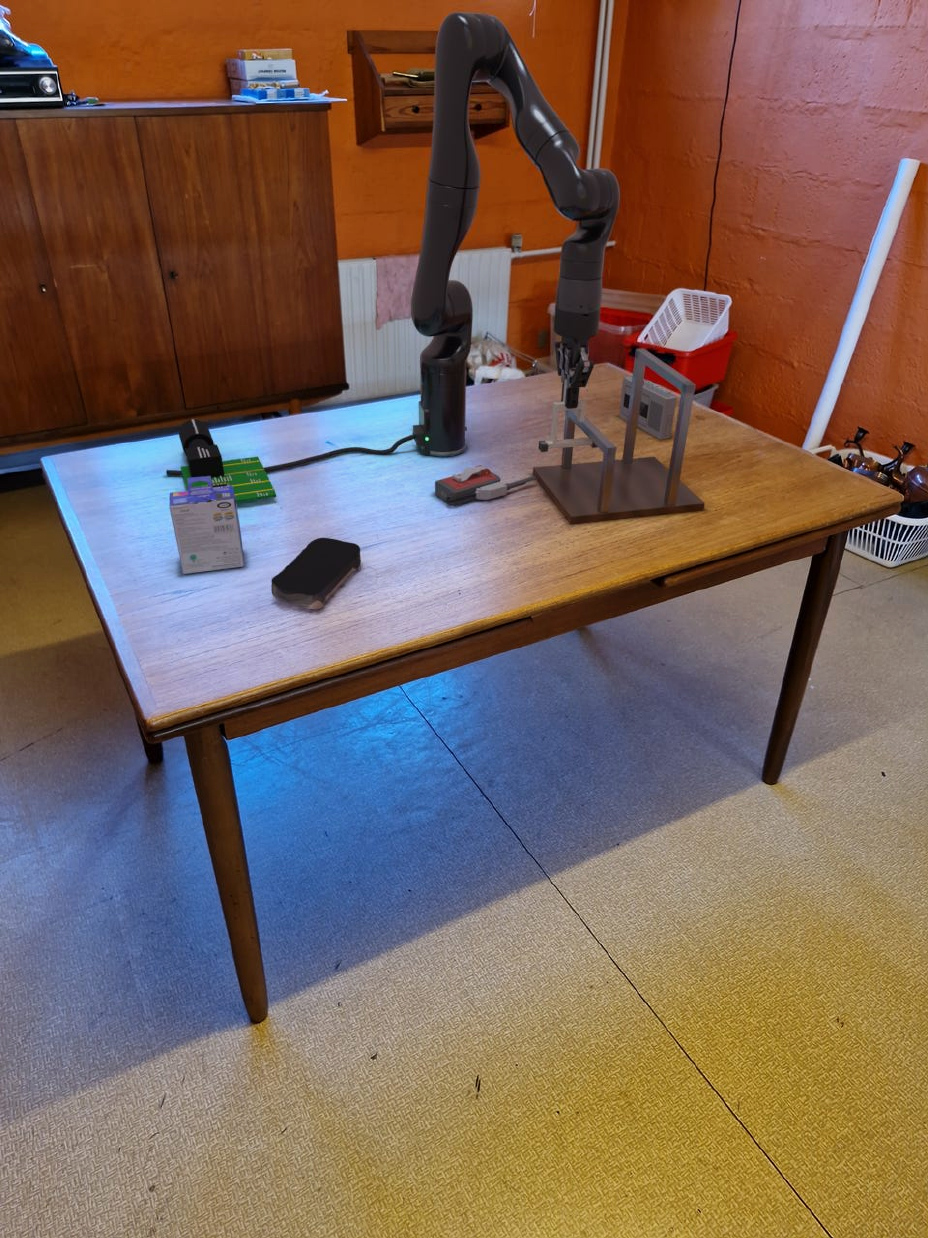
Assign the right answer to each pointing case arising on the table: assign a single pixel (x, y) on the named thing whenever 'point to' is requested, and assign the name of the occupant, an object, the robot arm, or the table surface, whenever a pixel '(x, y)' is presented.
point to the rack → (623, 464)
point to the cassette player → (650, 408)
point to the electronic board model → (221, 465)
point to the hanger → (554, 428)
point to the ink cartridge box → (206, 527)
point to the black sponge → (316, 572)
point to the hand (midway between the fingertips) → (569, 405)
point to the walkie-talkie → (474, 486)
